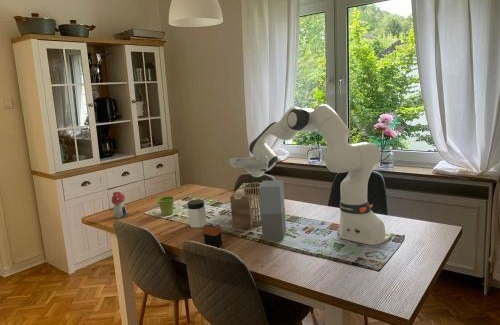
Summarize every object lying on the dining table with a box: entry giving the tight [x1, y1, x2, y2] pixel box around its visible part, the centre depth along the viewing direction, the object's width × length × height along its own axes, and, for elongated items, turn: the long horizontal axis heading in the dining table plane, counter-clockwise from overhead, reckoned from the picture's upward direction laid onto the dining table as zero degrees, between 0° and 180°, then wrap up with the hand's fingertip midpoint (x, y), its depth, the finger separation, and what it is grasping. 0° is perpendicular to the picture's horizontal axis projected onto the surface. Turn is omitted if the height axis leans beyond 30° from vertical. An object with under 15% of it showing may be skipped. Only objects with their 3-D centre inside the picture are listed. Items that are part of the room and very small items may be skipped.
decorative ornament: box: [111, 191, 129, 219], centre depth 213 cm, size 9×6×15 cm
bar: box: [233, 182, 250, 199], centre depth 186 cm, size 18×3×2 cm, turn 168°
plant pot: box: [156, 195, 176, 216], centre depth 212 cm, size 9×9×9 cm
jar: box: [186, 198, 208, 229], centre depth 192 cm, size 9×8×12 cm
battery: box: [202, 222, 223, 248], centre depth 166 cm, size 4×7×10 cm, turn 55°
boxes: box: [229, 179, 287, 241], centre depth 179 cm, size 23×26×24 cm
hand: (245, 158), depth 195 cm, fingers open, 8 cm apart
